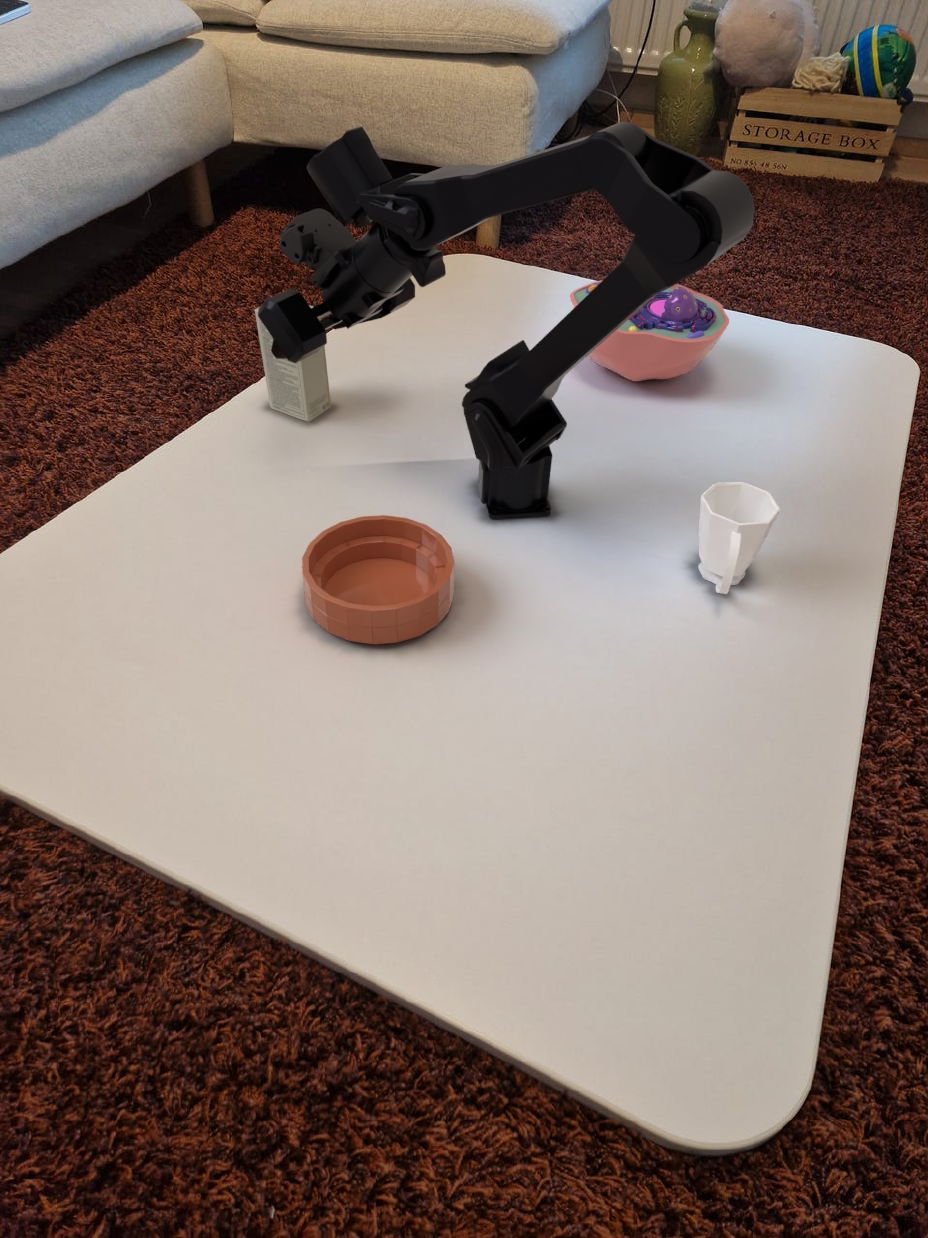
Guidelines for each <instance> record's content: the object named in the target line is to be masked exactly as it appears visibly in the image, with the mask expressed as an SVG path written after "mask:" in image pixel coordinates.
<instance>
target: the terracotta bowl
mask: <svg viewBox="0 0 928 1238" xmlns="http://www.w3.org/2000/svg"><path fill="white" fill-rule="evenodd" d="M302 555H303V556H302V557H301V573H302V582H303V590H304V599H305V605H306V608H307V610H308V612H309V613H310V615H311V617H312V619H313V621H314V622H315V623H317V624H318V625H319V626H320V627H321V628H323V629H324V630H325V631H327V632H328V633H329V634H331V635H334V636H336V637H339V638H341V639H342V640H346V641H350V642H352V643H353V642H355V643H360V644H361V643H362V644H368V645H383V644H385V645H386V644H396V643H401V642H405V641H407V640H410V639H414V638H417V637H420V636H422V635H424V634H426V633H427V632H428V631H430V630H432V629H434V628H435V627H436V626H438V625H439V624H440V622H441V621H443V619H444V618H445V617H446V615H447V614H448V613H449V612H450V611H451V610H450V609H451V607H452V603H453V599H454V595H455V593H454V591H455V589H454V588H455V558H454V555H453V549H452V547H451V545H450V544H449V543H448V541H447V540H446V539H445V537H443V535H442V534H441V533H439V532H438V531H436V530H434V529H433V528H432V527H430V526H429V525H428V524H425V523H422V522H420V521H417V520H413V519H410V518H408V517H401V516H395V515H394V516H393V515H385V514H380V515H367V516H366V515H365V516H364V515H363V516H358V517H355V518H351V519H347V520H343V521H340V522H338V523H336V524H334V525H332V526H330V527H328V528H326V529H324V530H323V531H321V532H320V533H318V534H317V536H316V537H315V538H313V539H312V540H311V541H310V542H309V543H308V545H307V547H306V549H305V551H304V554H302Z"/></svg>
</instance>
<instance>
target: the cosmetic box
mask: <svg viewBox="0 0 928 1238" xmlns="http://www.w3.org/2000/svg"><path fill="white" fill-rule="evenodd" d="M309 306H310V307H311V308H313V307H314V306H312V305H309ZM259 308H260V306H259V307H257V308H255V309H254V315H255V321H256V327H257V334H258V340H259V347H260V352H261V353H260V354H261V358H262V364H263V365H262V366H263V371H264V377H265V383H266V389H267V395H268V402H269V407H270V409H272V410H273V411H274V410H275V411H277V412H279V413H282V414H285V415H288V416H290V417H292V418H293V417H294V418H295V419H298V420H302V421H305V422H306V423H307V422H308V423H309V422H311V421H313V420H314V419H316V418H318V417H319V416H320V415H321V414H324V413H325V412H326V411H328V410H329V409H331V407H332V402H331V401H332V400H331V392H330V384H329V376H328V375H329V373H328V365H327V358H326V357H327V356H326V347H325V346H326V345H324V346H323V347H322V348H321V349H320V350H318V352H316V353H314V354H312V355H311V356H309V357H307V358H305V359H303V360H301V361H299V362H297V363H293V362H291V361H288V360H287V359H276V358H275V356H274V355H273V354H272V352H271V348H272V343H273V337H272V336H271V334H270V333H269V332H268V330H267V329H266V327H265V326H264V324H263V323H262V321H261V320H260V318H259V317H258V309H259ZM322 319H323V318H321V319H319V320H322Z"/></svg>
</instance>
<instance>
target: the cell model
mask: <svg viewBox="0 0 928 1238" xmlns="http://www.w3.org/2000/svg"><path fill="white" fill-rule="evenodd" d="M603 280H604V279H601V280H596V281H593V282H590V283H588V284H585V285H583V286H580V287H579V288H578V287H577V288H576V289H574V290H573V291H572V292H571V293H570V294H569V298H570V302H571V306H572V310H573V309H574V308H575V307H576V306H577V305H578V304H579V303H580V302H581V301H582V300H583V299H584V298H585V297H586V296H587V295H588V294H589V293H590V292H591V291H592V290H593V289H594V288H595V287H596V286H598V285H599V284H600V283H601V282H602V281H603ZM729 325H730V318H729V316H728V314H727V313H726V312H725V309H724V307H723V305H722V304H721V302H719V301H718V300H717V299H715V298H713V297H711V296H709V295H706V294H703V293H702V292H698V291H695V289H692V288H689V287H687V286H685V285H682V284H678V283H677V284H675V285H674V286H672V287H670V288H668V289H666V290H664V291H662V292H661V293H659V294H657V295H656V296H655V297H653V298H652V299H651V300H650V301H649V302H648V303H647V304H645V305H644V306H643V307H642V308H641V309H640V310H639V311H638V312H636V313H635V314H634V315H633V316H632V317H631V318H630V319H628V320H627V321H626V322H625V323H624V324H623V325H622V326H621V327H619V328H618V329H617V330H616V331H615V332H614V333H613V334H611V335H610V336H609V337H608V338H607V339H606V340H605V341H604V342H602V343H601V344H600V345H599V346H598V347H597V348H596V349H594V350H593V351H592V352H591V353H590V354H589V355H588V356H587V357H588V358H589V360H591V361H592V362H593V363H595V364H597V365H598V366H601V367H603V368H604V369H607V370H610V371H612V372H613V373H615V374H617V375H619V376H621V377H623V378H625V379H627V380H628V381H631V382H642V381H648V380H669V379H673V378H677V377H679V376H682V375H685V374H687V373H689V372H691V371H692V370H693V369H694V368H695V367H696V366H697V365H698V364H699V363H700V362H701V361H702V360H704V358H705V357H706V356H708V355H709V354H710V352H711V351H713V349H714V348H715V347H716V345H717V344H718V343H719V342H720V339H721V337H722V336H723V334H724V332H725V331H726V329H727V327H728V326H729Z"/></svg>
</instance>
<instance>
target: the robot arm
mask: <svg viewBox="0 0 928 1238" xmlns="http://www.w3.org/2000/svg"><path fill="white" fill-rule="evenodd" d="M306 171H307V173H308V174H309V176H310V177H311V179H312V180H313V182H314V183H315V185H316V186H317V188H318V190H319V191H320V193H321V194H322V196H323V198H324V199H325V200H326V202H327V203H328V205H329V206H330V208H331V209H332V211H333V213H334V214H335V216H336V217H337V218H336V217H335V216H333V215H332V213H330V212H329V211H328V210H326V209H323V208H314V209H311V210H309V211H307V212H304V213H301V214H299V215H297V216H295V217H293V219H292V221H291V222H288V223H286V227H285V229H283V230H280V232H279V236H280V242H279V248H280V251H281V253H282V254H283V255H284V256H285V257H287V258H288V259H289V260H290V261H291V262H292V263H293V264H294V265H296V266H299V265H303V264H305V266H307V267H308V268H309V269H310V270H311V271H313V274H312V275H311V276H310V277H309V279H310V281H311V282H312V284H313V286H314V287H315V288H316V289H317V290H318V289H320V290H321V292H320V295H321V299H322V301H323V302H321V303H319V304H317V305H315V306H313V308H311V307H310V306H311V305H310V304H309V303H308V301H307V300H306V298H305V297H304V295H303V294H302V292H301V291H299V290H295V289H294V288H289V289H287V290H285V291H282V292H280V293H278V294H275V295H274V296H271V297H269V298H266V299H265V301H264V302H263V303H262V304H261V305H260V306H259V307H260V308H259V307H258V308H259V309H258V317H259V318H260V320H261V321H262V323H263V324H264V326H265V327H266V329H267V330H268V332H269V333H270V334H271V336H272V337H273V343H272V348H271V352H272V354H273V355H274V356H275V358H276V359H287V360H288V361H291V362H293V363H297V362H299V361H301V360H303V359H305V358H307V357H309V356H311V355H312V354H314V353H316V352H318V350H320V349H321V348H322V347H323V346H326V345H327V343H328V338H327V330H328V329H330V328H332V329H333V330H339V329H345V328H346V329H347V330H349V329H350V328H352V327H354V326H356V325H359V324H364V323H367V322H372V321H376V320H380V319H383V318H384V317H386V316H388V315H391V314H392V313H394V312H395V311H398V310H400V309H402V308H403V307H406V306H407V305H408V304H409V303H410V302H411V301H413V300H414V299H415V298H416V284H415V283H414V281H415V282H416V283H417V285H418V286H419V287H421V288H425V287H427V286H429V285H431V284H433V283H434V282H436V281H439V280H440V279H442V278H444V277H446V275H447V272H446V264H445V262H444V252H443V250H439V249H436V247H437V246H439V245H440V244H444V243H445V242H448V241H449V240H451V239H453V238H455V237H457V236H460V235H462V234H464V233H466V232H468V231H470V230H472V229H474V228H475V227H477V226H479V225H481V224H483V223H484V222H487V221H488V220H490V219H492V218H494V217H498V216H501V215H506V214H509V213H512V212H517V211H519V210H523V209H527V208H532V207H535V206H538V205H543V204H546V203H550V202H553V201H557V200H561V199H565V198H568V197H572V196H575V195H580V194H583V193H587V192H590V191H595V192H597V193H598V194H599V195H601V196H602V197H604V198H605V199H606V201H607V202H608V203H609V205H610V207H611V208H612V210H613V211H614V213H615V214H616V216H617V217H618V219H619V220H620V222H621V223H622V225H623V226H624V227H625V228H626V229H627V230H628V231H629V232H631V233H632V234H633V235H634V236H633V237H632V239H631V241H630V243H629V246H628V248H627V250H626V252H625V254H624V256H623V258H622V259H621V261H620V263H619V264H618V265H616V267H615V268H613V270H612V271H610V273H609V274H607V276H606V277H605V278H604V279H602V280H603V281H602V282H601V283H600V284H599V285H598V286H596V287H595V288H594V289H593V290H592V291H591V292H590V293H589V294H588V295H587V296H586V297H585V298H584V299H583V300H582V301H581V302H580V303H579V304H578V305H577V306H576V307H575V308H574V309H573V308H572V309H571V310H570V311H569V312H568V314H566V315H565V316H564V317H563V318H562V319H561V320H560V321H559V322H558V323H557V324H556V325H555V326H553V328H552V329H550V330H549V332H548V333H547V334H545V335H544V336H543V338H542V339H540V340H539V341H538V342H537V343H536V344H535V345H534V346H533V347H532V348H531V349H529V347H528V345H527V343H526V341H525V340H524V339H521V340H520V341H518V342H517V343H516V344H514V345H512V346H511V347H509V348H507V349H506V350H505V351H503V352H502V353H500V354H499V355H496V356H495V357H494V358H492V359H491V360H489V361H488V362H487V363H486V365H484V367H483V368H482V370H481V371H480V373H479V375H477V376H475V377H474V378H472V379H470V381H467V382H466V383H465V384H464V388H465V389H467V390H468V391H467V392H466V393H465V395H464V396H463V397H462V401H461V407H462V408H463V415H464V418H465V423H466V426H467V430H468V434H469V437H470V441H471V444H472V448H473V453H474V455H475V459H476V460H478V479H477V480H478V481H477V491H478V495H479V498H480V502H481V503H482V504H483V505H484V506H485V509H486V513H487V516H488V518H490V519H493V520H494V519H511V518H526V517H527V518H528V517H541V516H550V515H551V514H552V507H551V504H550V502H549V492H550V491H549V490H550V480H551V472H552V463H553V453H552V450H551V446H550V445H552V444H553V443H554V442H556V441H558V440H559V439H561V438H562V435H563V434H564V432H565V430H566V428H567V426H568V423H567V421H566V419H565V418H564V416H563V415H562V413H561V411H560V410H559V408H558V407H557V405H556V403H555V402H554V400H553V398H554V396H555V395H556V394H557V392H558V389H559V388H560V385H561V383H562V381H563V379H564V378H565V376H566V375H568V373H570V372H571V371H572V370H573V369H574V368H576V366H578V365H579V364H580V363H581V362H582V361H583V360H585V359H586V358H587V357H588V355H589V354H590V353H591V352H592V351H593V350H594V349H596V348H597V347H598V346H599V345H600V344H601V343H602V342H604V341H605V340H606V339H607V338H608V337H609V336H610V335H611V334H613V333H614V332H615V331H616V330H617V329H618V328H619V327H621V326H622V325H623V324H624V323H625V322H626V321H627V320H628V319H630V318H631V317H632V316H633V315H634V314H635V313H636V312H638V311H639V310H640V309H641V308H642V307H643V306H644V305H645V304H647V303H648V302H649V301H650V300H651V299H652V298H653V297H655V296H656V295H657V294H659V293H661V292H662V291H664V290H666V289H668V288H670V287H672V286H674V285H675V284H678V283H681V282H682V281H684V280H685V279H688V278H689V277H690V276H692V275H694V274H696V273H698V272H699V271H700V270H702V269H704V268H705V267H707V266H708V265H709V264H711V263H712V262H714V261H716V260H717V259H718V258H719V257H721V256H722V255H724V254H725V253H726V252H727V251H729V250H730V249H732V248H733V247H734V246H736V245H737V244H739V243H740V242H742V241H743V240H744V239H745V238H746V236H748V234H749V233H750V232H751V229H752V227H753V225H754V215H755V203H754V198H753V194H752V193H751V190H750V189H749V187H748V185H747V184H746V183H745V181H744V180H742V178H741V177H739V176H738V175H736V174H735V173H732V172H730V171H726V170H716V169H714V167H711V166H710V165H709V164H707V163H706V162H705V161H703V160H702V159H701V158H699V157H697V156H695V155H694V154H691V153H689V152H686V151H684V150H682V149H680V148H677V147H675V146H672V145H670V144H668V143H666V142H663V141H661V140H659V139H657V138H656V137H654V136H653V135H652V134H650V133H648V132H647V131H646V130H645V129H643V128H642V127H640V126H638V125H637V124H635V123H633V122H629V121H619V122H617V123H614V124H611V125H610V126H608V127H605V128H602V129H600V130H598V131H596V132H594V133H592V134H590V135H587V136H584V137H581V138H577V139H574V140H571V141H568V142H564V143H562V144H558V145H555V146H553V147H552V146H551V147H549V148H546V149H543V150H540V151H536V152H533V153H531V154H527V155H524V156H520V157H517V158H514V159H512V160H511V159H510V160H508V161H505V162H502V163H499V164H491V165H484V164H483V165H482V164H476V163H468V164H467V163H466V164H456V165H446V166H443V167H440V168H438V169H434V170H432V171H430V172H427V173H417V172H416V173H415V172H411V173H409V174H406V175H404V176H401V177H399V178H396V179H394V178H393V176H392V175H391V174H390V171H389V170H388V168H387V167H386V165H385V164H384V162H383V160H382V159H381V157H380V156H379V154H378V153H377V151H376V149H375V148H374V146H373V144H372V141H371V139H370V137H369V135H368V134H367V132H366V131H365V129H364V127H363V126H357V127H354V128H351V129H347V130H346V131H345V132H344V133H343V135H342V136H341V137H340V138H338V139H337V140H334V141H333V142H331V143H330V144H328V146H326V147H324V148H323V150H321V151H320V152H317V153H315V154H314V155H313V156H312V157H311V158H310V160H309V161H308V163H307V166H306ZM372 222H374V224H372V226H371V227H369V228H368V230H367V231H366V232H365V233H364V234H363V235H362V236H361V238H359V239H358V240H356V239H355V238H354V237H353V234H352V232H351V231H350V230H349V229H348V228H347V227H348V226H349V225H350V224H352V223H353V224H354V226H355V227H356V228H357V229H360V228H363V227H365V226H367V225H369V224H371V223H372ZM412 277H413V278H414V281H413V280H412ZM319 319H322V320H319Z"/></svg>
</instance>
